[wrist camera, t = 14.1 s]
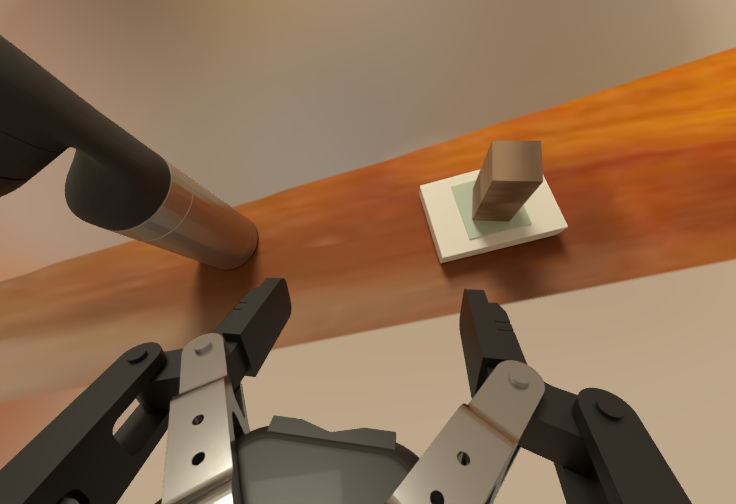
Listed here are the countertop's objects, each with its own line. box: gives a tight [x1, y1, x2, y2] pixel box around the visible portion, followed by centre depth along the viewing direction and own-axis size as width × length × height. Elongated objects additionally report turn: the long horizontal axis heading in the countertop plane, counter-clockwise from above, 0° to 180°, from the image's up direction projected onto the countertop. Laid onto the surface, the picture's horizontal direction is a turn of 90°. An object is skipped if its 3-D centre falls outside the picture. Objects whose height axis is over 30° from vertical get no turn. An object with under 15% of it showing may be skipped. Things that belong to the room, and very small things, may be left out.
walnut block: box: [472, 141, 543, 222], centre depth 33 cm, size 5×5×10 cm
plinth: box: [419, 169, 568, 263], centre depth 39 cm, size 16×11×3 cm
